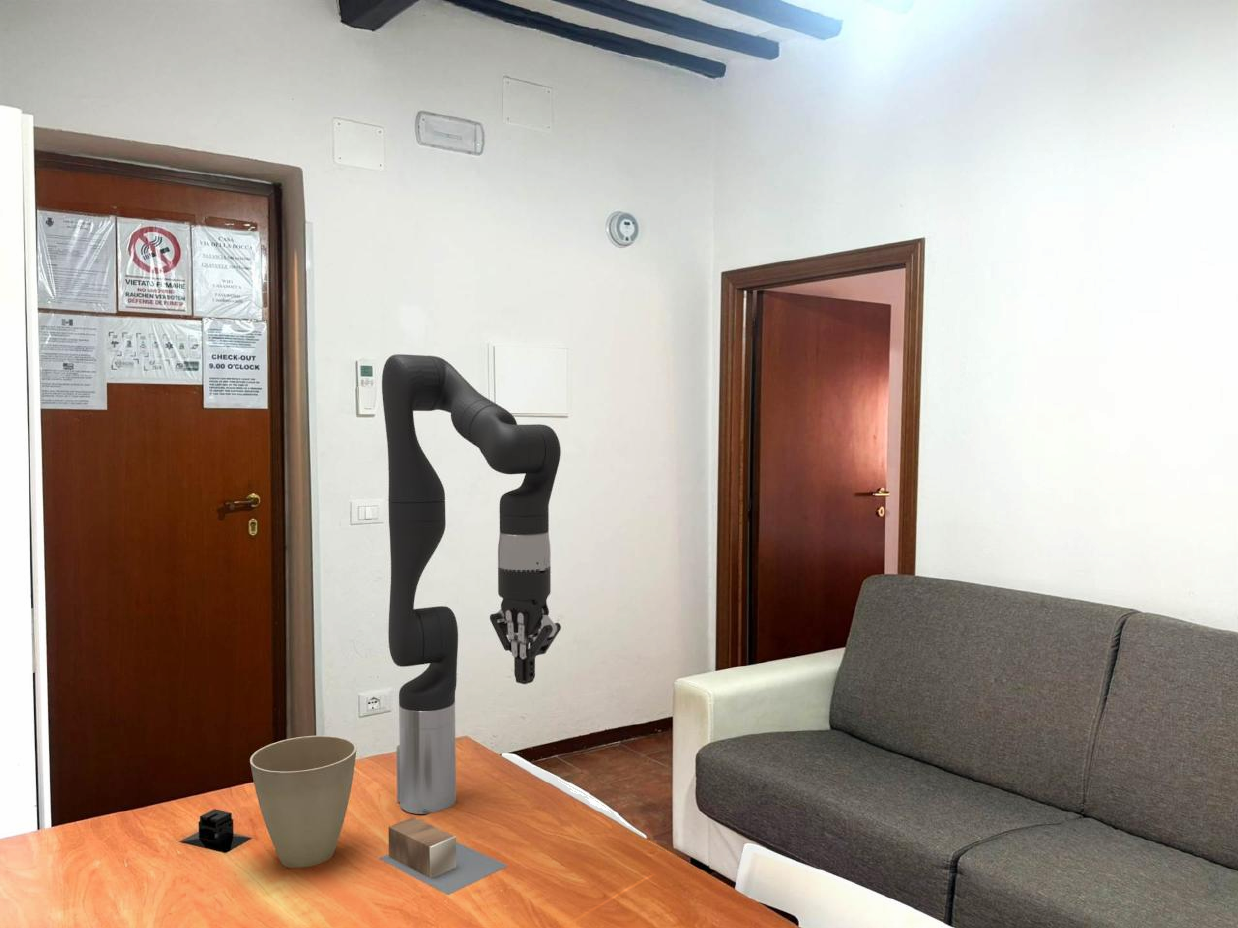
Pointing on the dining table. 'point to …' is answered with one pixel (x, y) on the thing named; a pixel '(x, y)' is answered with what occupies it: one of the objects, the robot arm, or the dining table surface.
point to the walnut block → (422, 847)
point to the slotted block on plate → (216, 832)
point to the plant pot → (304, 795)
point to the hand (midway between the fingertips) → (524, 682)
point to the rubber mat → (456, 870)
